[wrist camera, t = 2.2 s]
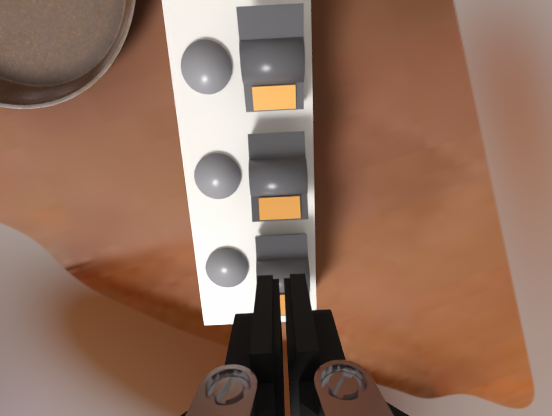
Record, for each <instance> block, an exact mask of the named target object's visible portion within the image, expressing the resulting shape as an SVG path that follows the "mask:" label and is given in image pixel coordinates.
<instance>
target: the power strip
mask: <svg viewBox="0 0 552 416" xmlns="http://www.w3.org/2000/svg"><path fill="white" fill-rule="evenodd" d="M295 3H304V46H305V77H304V109H298V110H279V111H260V112H246V106H245V95H244V85H243V81H242V75H241V66H240V53H239V32H238V21H237V11H236V7H241V6H259V5H277V4H295ZM162 6H163V14H164V21H165V29H166V36H167V44H168V52H169V59H170V67H171V75H172V82H173V90H174V98H175V105H176V113H177V121H178V128H179V136H180V144H181V151H182V159H183V167H184V174H185V182H186V189H187V197H188V205H189V212H190V220H191V228H192V235H193V243H194V251H195V258H196V266H197V274H198V281H199V289H200V297H201V304H202V312H203V320H204V325H220V324H233V322H234V317H235V314H240V313H253V312H254V303H255V294H256V284H257V281H256V243H255V236H256V235H275V234H295V233H306V234H307V246H308V260H309V270H310V302H311V308H312V310H316V262H315V205H314V148H313V91H312V34H311V0H162ZM297 131H304V134H305V155H306V161H307V173H308V193H307V197H308V219H304V220H283V221H263V222H252V208H251V195H250V187H249V150H248V134H258V133H278V132H297ZM281 322H286V316H281Z"/></svg>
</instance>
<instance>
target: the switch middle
mask: <svg viewBox="0 0 552 416" xmlns="http://www.w3.org/2000/svg"><path fill="white" fill-rule="evenodd" d="M248 150H249V187H250V195H251V208H252V222H263V221H283V220H304V219H308V197H307V193H308V173H307V161H306V155H305V134H304V131H297V132H278V133H258V134H248Z"/></svg>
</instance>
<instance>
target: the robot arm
mask: <svg viewBox="0 0 552 416" xmlns="http://www.w3.org/2000/svg"><path fill="white" fill-rule="evenodd" d="M284 293H285V314H286V335H287V356H288V373H289V391H290V392H289V393H290V410H291V411H290V412H291V416H409V415H407V414H405V413H403V412H402V411H400V410H399V409H397V408H395V407H394V406H392V405H390V404H389V403H387V402H386V401H385V399H384V398H383V396H382V394H381V392H380V391H379V389H378V387H377V385H376V384H375V382H374V380H373V378H372V377H371V375H370V374H369V373H368V371H367V370H366V369H364V368H363V367H362V366H360V365H359V364H356V363H354V362H351V361H346V360H345V356H344V353H343V350H342V346H341V343H340V339H339V336H338V332H337V329H336V325H335V322H334V319H333V315H332V312H331V310H330V309H329V310H312V308H311V302H310V297H309V292H308V287H307V282H306V276H305V273H300V274H290V278H284ZM181 416H285V407H284V376H283V348H282V328H281V308H280V289H279V279H273V275H258V276H257V284H256V294H255V303H254V312H253V313H240V314H235V317H234V322H233V326H232V331H231V336H230V341H229V346H228V352H227V356H226V361H225V366H221V367H218V368H216V369H214V370H212V371H211V372H210V373H209V374H207V375H206V376H205V377H204V379H203V380H202V382H201V383H200V385H199V387H198V389H197V392H196V394H195V396H194V398H193V400H192V402H191V404H190V407H189V409H188V411H186V412H185V413H184V414H182V415H181Z"/></svg>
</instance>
